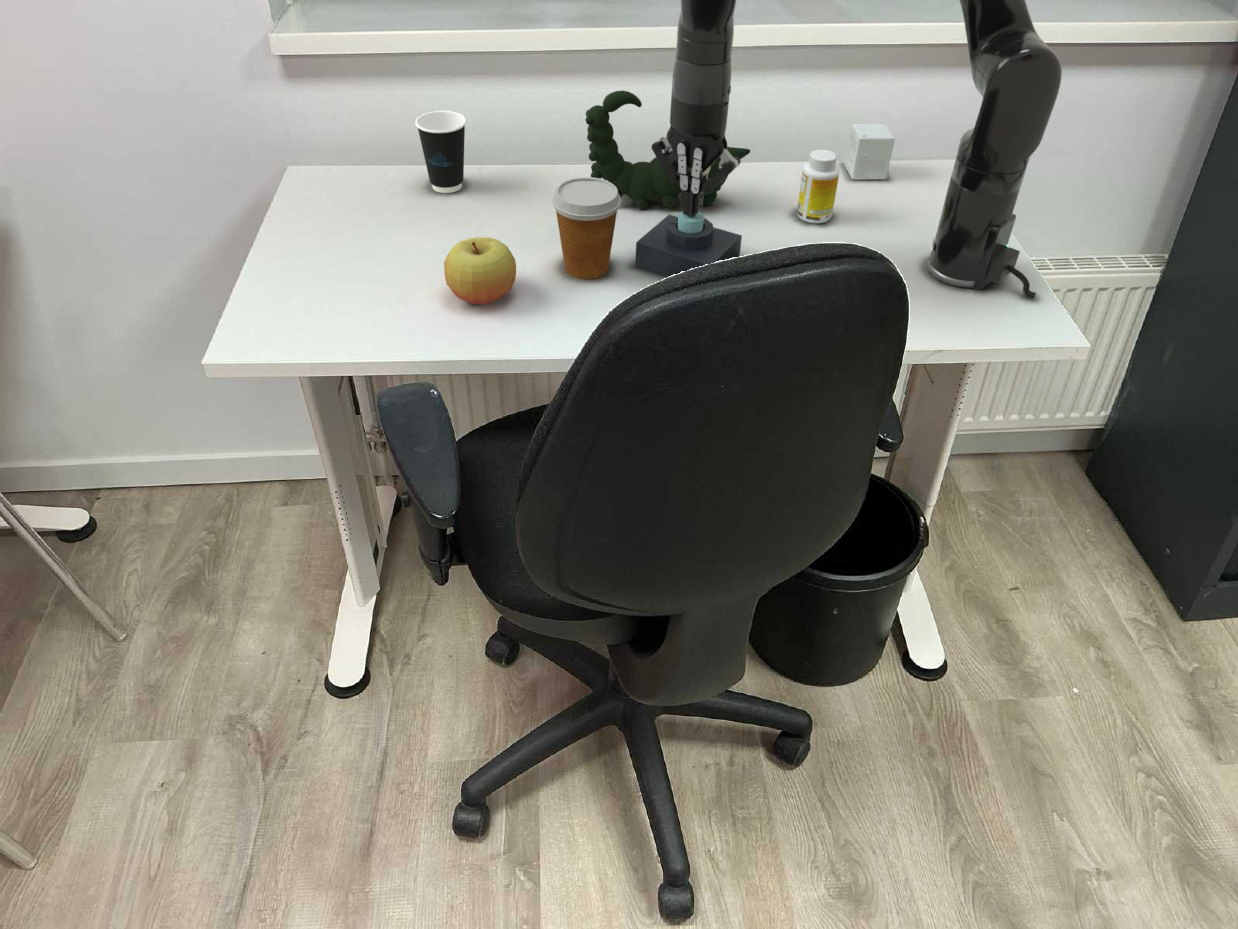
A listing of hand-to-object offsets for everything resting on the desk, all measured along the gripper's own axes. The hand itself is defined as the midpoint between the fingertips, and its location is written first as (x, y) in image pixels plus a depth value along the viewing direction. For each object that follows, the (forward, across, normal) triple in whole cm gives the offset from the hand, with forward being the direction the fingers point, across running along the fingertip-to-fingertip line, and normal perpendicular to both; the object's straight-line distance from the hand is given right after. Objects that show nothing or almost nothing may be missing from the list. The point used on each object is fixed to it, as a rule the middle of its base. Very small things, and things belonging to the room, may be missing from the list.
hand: (690, 213), depth 140 cm
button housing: (+8, 0, 0) cm, 8 cm away
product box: (+8, +12, +43) cm, 46 cm away
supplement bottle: (+8, +10, +24) cm, 27 cm away
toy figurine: (+8, -12, +15) cm, 21 cm away
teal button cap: (+2, 0, 0) cm, 2 cm away
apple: (+8, -20, -23) cm, 32 cm away
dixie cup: (+8, -44, +1) cm, 45 cm away
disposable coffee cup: (+8, -12, -9) cm, 17 cm away
